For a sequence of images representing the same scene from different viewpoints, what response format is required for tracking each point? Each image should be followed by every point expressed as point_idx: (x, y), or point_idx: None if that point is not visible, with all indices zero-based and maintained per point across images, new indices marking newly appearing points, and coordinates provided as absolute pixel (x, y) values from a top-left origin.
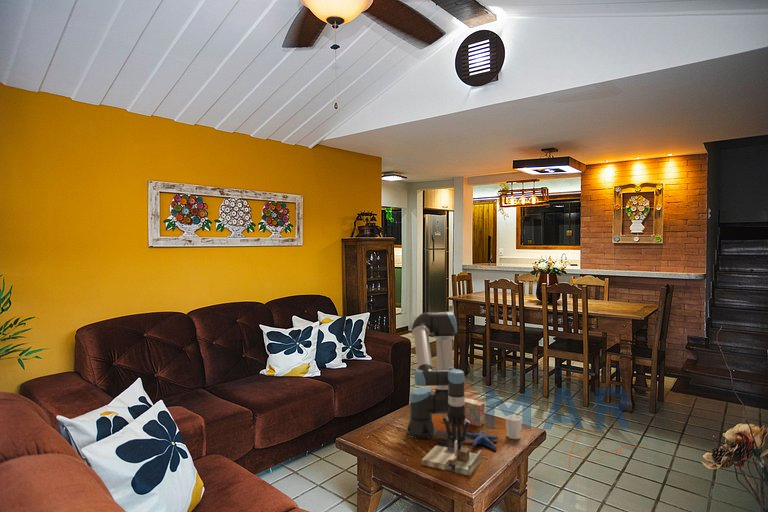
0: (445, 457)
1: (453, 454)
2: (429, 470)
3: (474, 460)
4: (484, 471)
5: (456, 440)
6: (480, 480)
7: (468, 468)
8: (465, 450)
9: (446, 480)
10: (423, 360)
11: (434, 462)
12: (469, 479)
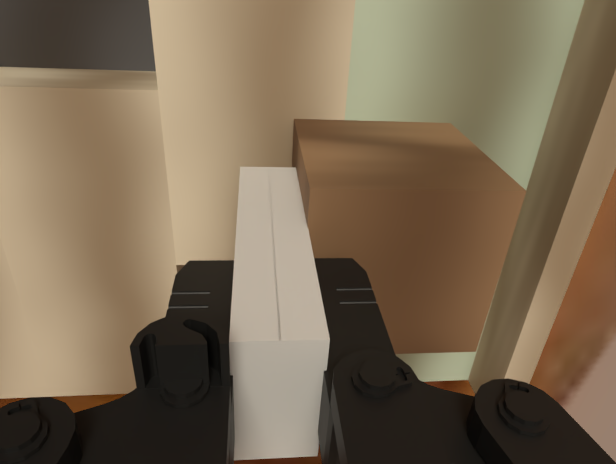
0: (103, 241)
1: (163, 94)
2: (67, 405)
3: (562, 296)
4: (608, 200)
5: (251, 371)
6: (558, 359)
7: (476, 392)
8: (455, 288)
9: (286, 460)
10: None
11: (56, 392)
12: (464, 382)
